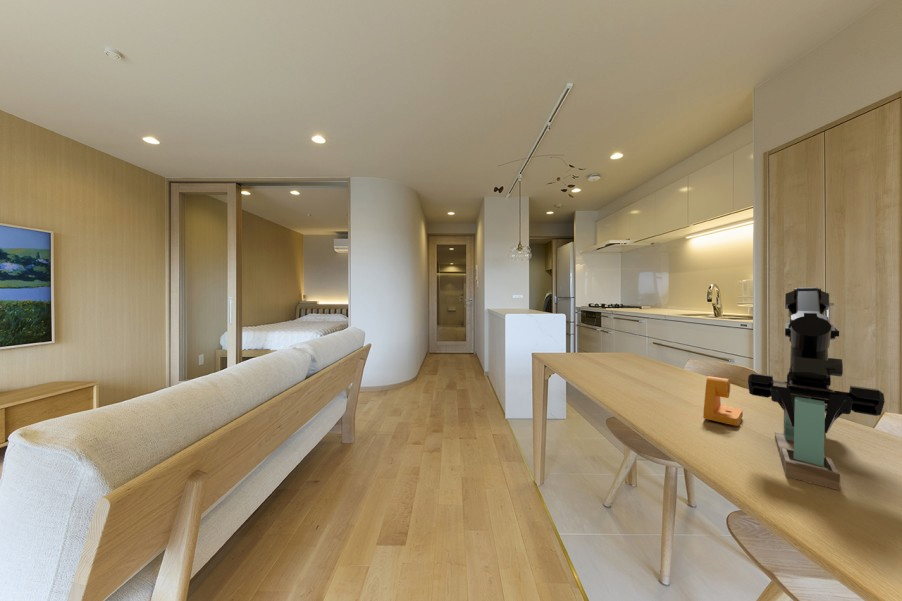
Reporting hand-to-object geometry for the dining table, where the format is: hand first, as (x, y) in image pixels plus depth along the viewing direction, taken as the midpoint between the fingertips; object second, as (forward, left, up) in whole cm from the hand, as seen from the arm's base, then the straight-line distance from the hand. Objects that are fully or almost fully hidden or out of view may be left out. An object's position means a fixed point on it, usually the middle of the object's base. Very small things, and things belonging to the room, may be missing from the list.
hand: (808, 428), depth 64 cm
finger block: (-1, 0, -7) cm, 7 cm away
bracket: (-26, -13, -10) cm, 31 cm away
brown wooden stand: (-8, 0, -10) cm, 12 cm away
